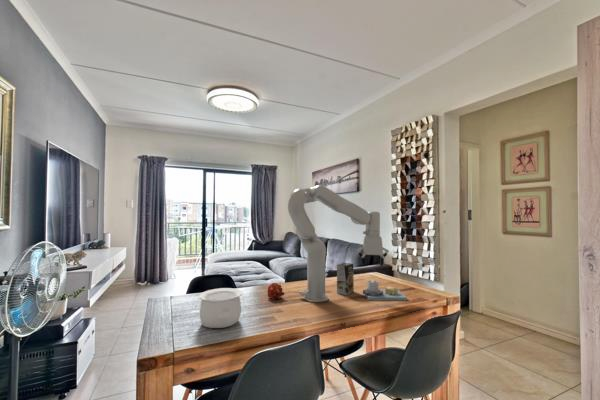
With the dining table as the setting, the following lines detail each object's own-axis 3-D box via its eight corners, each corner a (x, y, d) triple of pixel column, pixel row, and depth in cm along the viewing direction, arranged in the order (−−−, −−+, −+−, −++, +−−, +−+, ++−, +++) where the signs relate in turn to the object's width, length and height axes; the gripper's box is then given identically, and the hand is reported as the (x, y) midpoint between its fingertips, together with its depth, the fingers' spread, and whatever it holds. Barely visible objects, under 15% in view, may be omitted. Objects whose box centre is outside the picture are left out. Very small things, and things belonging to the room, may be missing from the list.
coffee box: (346, 295, 156) (346, 266, 156) (336, 293, 159) (336, 264, 160) (354, 291, 163) (353, 263, 163) (344, 289, 167) (344, 262, 167)
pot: (196, 317, 124) (196, 289, 125) (235, 311, 131) (236, 285, 132) (201, 337, 104) (202, 304, 105) (247, 329, 111) (247, 298, 112)
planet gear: (364, 296, 149) (364, 284, 149) (361, 290, 159) (360, 279, 159) (385, 296, 148) (385, 284, 149) (380, 290, 159) (380, 279, 159)
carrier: (368, 300, 147) (368, 283, 147) (363, 292, 161) (362, 277, 161) (407, 300, 146) (406, 283, 147) (398, 292, 160) (398, 277, 161)
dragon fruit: (273, 297, 158) (279, 307, 147) (261, 290, 155) (266, 299, 144) (282, 284, 159) (288, 293, 148) (270, 277, 156) (276, 285, 145)
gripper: (358, 234, 152) (357, 266, 151) (390, 234, 151) (390, 266, 150) (355, 233, 159) (355, 263, 158) (386, 233, 159) (386, 264, 158)
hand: (372, 265), depth 154 cm, fingers open, 9 cm apart
